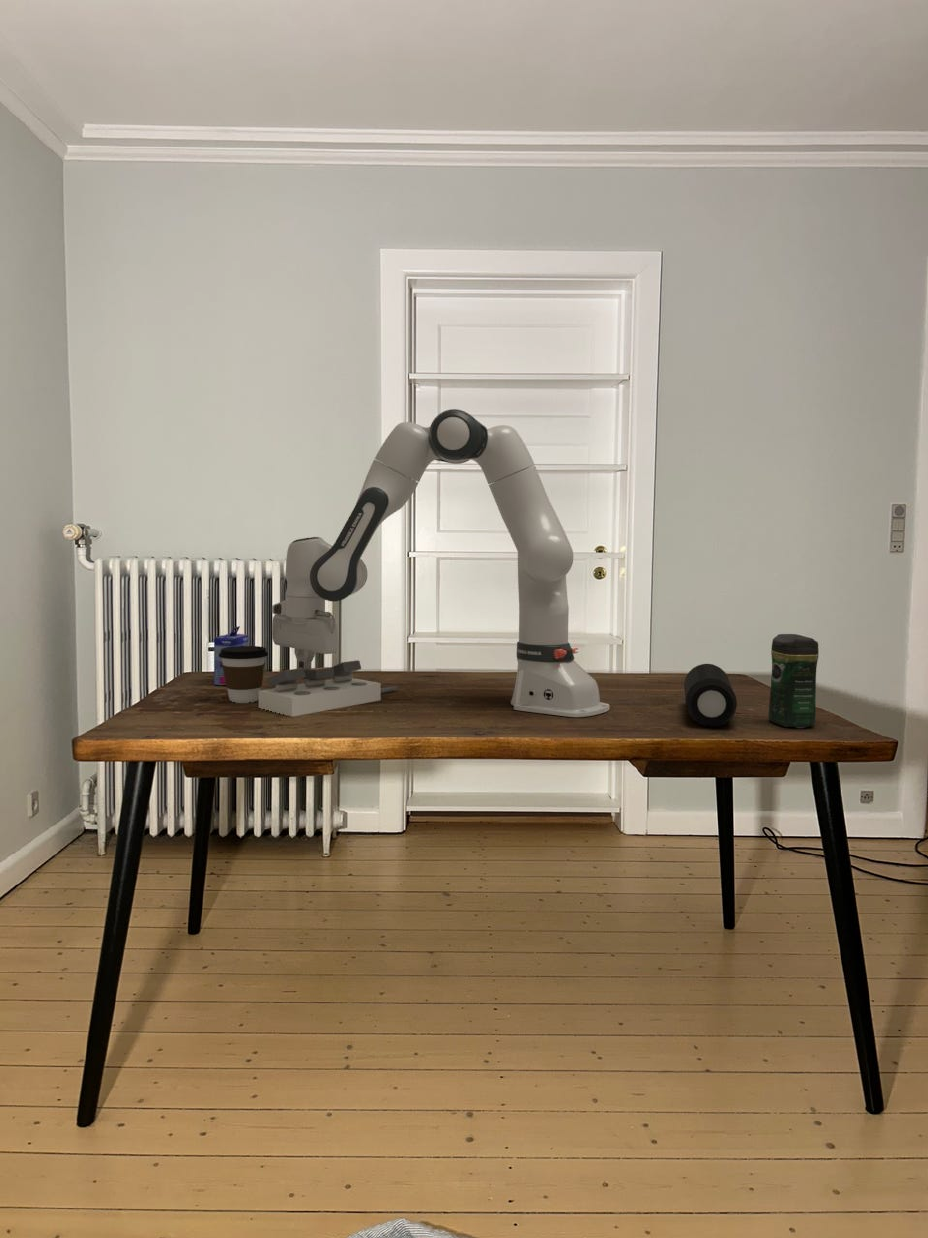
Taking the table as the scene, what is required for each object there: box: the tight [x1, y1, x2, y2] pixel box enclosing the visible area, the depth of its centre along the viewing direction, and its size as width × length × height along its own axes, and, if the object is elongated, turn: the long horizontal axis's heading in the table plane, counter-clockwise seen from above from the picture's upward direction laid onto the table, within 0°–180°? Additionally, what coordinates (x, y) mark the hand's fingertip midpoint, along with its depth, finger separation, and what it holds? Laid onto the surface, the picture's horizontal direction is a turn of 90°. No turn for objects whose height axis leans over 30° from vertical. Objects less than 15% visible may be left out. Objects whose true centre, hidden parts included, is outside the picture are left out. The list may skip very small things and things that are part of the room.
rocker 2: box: [301, 666, 334, 680], centre depth 198 cm, size 7×5×2 cm
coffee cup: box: [219, 645, 269, 704], centre depth 201 cm, size 11×11×12 cm
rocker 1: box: [266, 667, 306, 688], centre depth 193 cm, size 7×5×2 cm
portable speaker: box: [683, 663, 738, 728], centre depth 188 cm, size 26×10×10 cm, turn 167°
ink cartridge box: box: [213, 625, 249, 686], centre depth 224 cm, size 10×6×14 cm, turn 171°
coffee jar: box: [767, 633, 819, 729], centre depth 180 cm, size 10×8×19 cm
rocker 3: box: [326, 659, 362, 679], centre depth 204 cm, size 7×5×2 cm
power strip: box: [258, 673, 398, 718], centre depth 201 cm, size 12×36×6 cm, turn 138°
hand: (304, 669), depth 201 cm, fingers closed
